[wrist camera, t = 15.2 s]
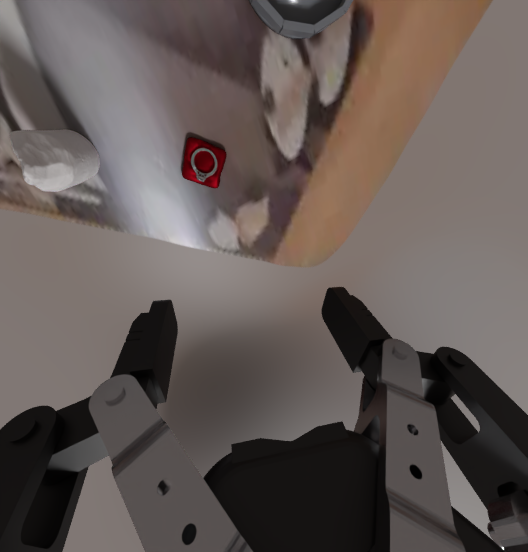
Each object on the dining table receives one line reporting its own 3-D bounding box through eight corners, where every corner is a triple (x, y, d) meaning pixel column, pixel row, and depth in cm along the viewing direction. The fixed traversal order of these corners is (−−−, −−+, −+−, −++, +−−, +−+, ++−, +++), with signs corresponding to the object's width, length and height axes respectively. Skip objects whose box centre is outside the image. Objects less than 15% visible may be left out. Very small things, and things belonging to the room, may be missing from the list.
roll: (-50, 135, 18) (23, 128, 19) (41, 131, 28) (87, 126, 28) (6, 206, 22) (66, 198, 22) (69, 180, 31) (110, 175, 32)
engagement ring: (182, 177, 35) (178, 179, 32) (188, 134, 32) (185, 134, 29) (218, 189, 36) (217, 192, 34) (227, 150, 34) (227, 150, 31)
